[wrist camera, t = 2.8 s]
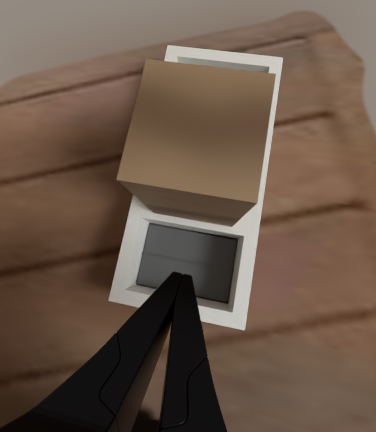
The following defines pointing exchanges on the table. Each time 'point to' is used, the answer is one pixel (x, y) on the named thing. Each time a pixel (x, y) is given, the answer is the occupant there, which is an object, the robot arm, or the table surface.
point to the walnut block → (197, 140)
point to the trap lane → (197, 228)
